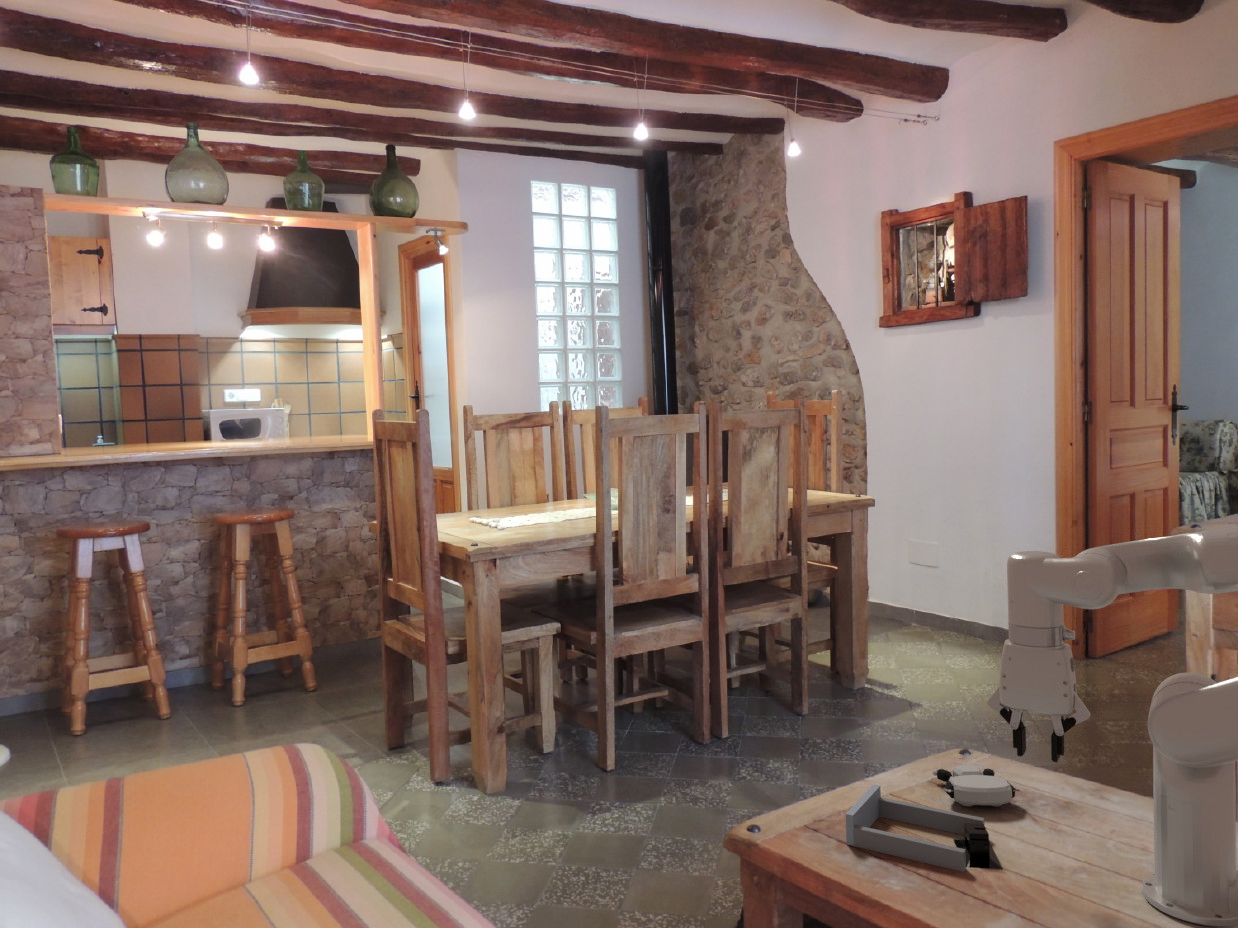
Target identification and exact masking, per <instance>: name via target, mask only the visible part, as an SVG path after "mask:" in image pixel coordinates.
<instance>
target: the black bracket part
mask: <svg viewBox="0 0 1238 928" xmlns="http://www.w3.org/2000/svg"><path fill="white" fill-rule="evenodd" d="M963 836H964V839H957V838H955V839H953V842H954V845H955V847H957V848H962V849H965V850H966V868H970V869H971V868H972V869H987V870H988V869H990V870H1003V866H1002V864H1001V862H1000V861H999V858H998V856H997V854H996V852H995V850H994V848H993V846H992V844H991V842H990V834H989V832H988V829H987V828H986V826H985V823H984V824H970V823H965V828H964V835H963Z"/></svg>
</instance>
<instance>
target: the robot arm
mask: <svg viewBox="0 0 1238 928" xmlns="http://www.w3.org/2000/svg"><path fill="white" fill-rule="evenodd" d="M1006 575H1007V580H1006V581H1007V583H1006V584H1007V612H1008V613H1007V617H1008V618H1007V619H1008V620H1007V621H1008V622H1007V625H1008V639H1006V640H1004V642H1003V648H1002V654H1001V661H1000V671H999V686H998V687H997V689H996V690H995V692H994V693H993V694H992V695H991V696H990V698H989V699H988V701H987V705H988V706H989V708H991V709H993V710H994V711H995V712H996V713H998V714H999V715H1000V716H1001V717H1002V718H1003V719H1004V720H1005V722H1006V723H1008V725H1009V727H1010V728H1011V729H1012V747H1013V748H1014V749H1016V756H1017V757H1023V756H1024V755H1025V753H1026V752H1027V751H1026V750H1027V735H1026V734H1027V732H1026V731H1027V730H1026V729H1027V726H1025V724H1024V721H1023V717H1024V712H1029V713H1036V714H1037V713H1038V714H1044V715H1045V714H1046V715H1050V717H1051V721H1052V725H1053V730H1052V733H1051V736H1050V746H1051V747H1050V748H1051V749H1050V750H1051V755H1050V756H1051V761H1052V762H1053V763H1058V761H1059V759H1060V757H1061V756H1064V755H1065V733H1067V732H1068V731H1069V730H1071V729H1072V728H1073V727H1075V725H1078V724H1080V723H1083V722H1084V721H1087V720H1089V719H1090V717H1091V712H1090V711H1089V709H1088V708H1087V706H1086V705H1085V704H1084V701H1082V699H1081V697H1079V694H1077V693H1078V692H1077V679H1076V670H1075V661H1074V655H1073V651H1072V647H1071V645H1070V644H1068V643H1066V642H1067V641H1069V640H1072V641H1073V640H1076V631H1075V630H1071V629H1070V628H1067V627H1066V624H1065V620H1064V617H1065V616H1064V614H1065V613H1064V605H1065V606H1070V607H1073V608H1080V609H1084V610H1098V609H1103V608H1106V607H1107V606H1109V605H1110V604H1112V603H1113V602H1115V600H1116V598H1117V597H1118V596H1119V595H1123V594H1131V593H1137V592H1138V593H1139V592H1147V591H1154V590H1172V589H1173V590H1175V589H1176V590H1184V591H1185V590H1186V591H1189V592H1190V591H1191V592H1195V593H1199V594H1206V595H1207V594H1209V595H1218V594H1220V595H1221V594H1226V593H1227V594H1228V593H1234V592H1238V525H1232V526H1227V527H1221V528H1220V527H1219V528H1215V529H1208V530H1201V531H1195V532H1187V533H1186V532H1185V533H1179V534H1175V535H1169V536H1160V537H1154V538H1153V537H1152V538H1145V539H1138V540H1132V541H1125V542H1119V543H1113V544H1105V545H1101V546H1095V547H1091V548H1087V549H1085V550H1083V551H1081V552H1079V553H1078V554H1077V555H1075V556H1073V557H1060V556H1059V555H1058V554H1056V553H1054V552H1049V551H1041V550H1040V551H1039V550H1026V551H1025V550H1023V551H1017V552H1014V553H1011V554H1010V555H1009V557H1008V558H1007V563H1006ZM1073 710H1075V711H1076V712H1074V714H1072V713H1073ZM1065 716H1067V717H1066V718H1065ZM1147 731H1148V735H1149V738H1150V740H1151V742H1152V749H1153V750H1152V755H1153V757H1152V764H1153V765H1152V766H1153V767H1152V768H1153V769H1152V770H1153V771H1152V773H1153V775H1152V777H1153V778H1152V779H1153V780H1152V781H1153V787H1152V788H1153V790H1152V791H1153V794H1152V795H1153V841H1154V842H1153V844H1154V845H1153V846H1154V851H1153V853H1154V854H1153V855H1154V856H1153V857H1154V874H1152V875H1151V874H1150V875H1149V876H1147V877H1146V878H1144V879H1143V881H1142V883H1141V884H1142V886H1141V888H1142V889H1141V891H1142V895H1143V897H1144V898H1145V900H1146V901H1147V902H1149V904H1151V905H1152V906H1153V907H1154V908H1156V909H1157V910H1159V911H1161V912H1163V913H1164V914H1167V915H1169V916H1170V917H1173V918H1176V919H1179V920H1181V921H1185V922H1189V923H1192V924H1197V925H1200V926H1201V925H1202V926H1210V927H1233V926H1238V870H1237V835H1236V834H1237V828H1236V826H1237V824H1236V821H1237V820H1236V819H1237V818H1236V817H1237V815H1236V812H1237V811H1236V809H1237V808H1236V807H1237V806H1236V803H1237V802H1236V799H1237V797H1236V795H1237V793H1236V792H1237V790H1236V787H1237V785H1236V784H1237V783H1236V781H1237V780H1236V778H1237V776H1236V762H1238V676H1235V677H1232V678H1229V679H1226V680H1222V681H1218V682H1217V681H1216V680H1214V679H1212V678H1211V677H1208V675H1207V676H1206V675H1204V674H1201V673H1196V672H1179V673H1175V674H1173V675H1171V676H1168V677H1167V678H1165V679H1164V680H1162V681H1161V683H1160V684H1159V685H1158V686H1157V688H1156V689H1155V691H1154V693H1153V695H1152V698H1151V702H1150V706H1149V711H1148V718H1147Z"/></svg>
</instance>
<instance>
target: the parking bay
mask: <svg viewBox="0 0 1238 928" xmlns="http://www.w3.org/2000/svg"><path fill="white" fill-rule="evenodd" d="M881 793H882V792H881V785H877V784H872V786H870V788H869V789H868V790H867V791H866V792H865V793H864V794H863V795H862V796H861V797H860V798H859V799H858V800H857V801H856V803H855V804H853V806H851V808H850V809H849V810H848V811H847V812H846V813H845V834H846V836H845V837H846V841H845V842H846V845H847V846H853V847H856V848H860V849H865V850H869V851H872V852H877V853H881V854H886V855H890V856H894V857H898V858H902V859H905V860H910V861H915V862H920V863H924V864H928V865H932V866H935V867H941V868H944V869H947V870H948V869H949V870H953V871H957V872H961V873H965V871H966V869H967V867H966V850H965V849H962V848H957V847H956V846H953V845H947V844H944V843H938V842H935V841H930V840H925V839H921V838H916V837H912V836H908V835H903V834H900V833H899V834H898V833H893V832H889V831H885V830H881V829H878V828H877V829H875V828H873V827H872V826H873V824H875V822H876V821H877V820H878V819H879V818H883V819H887V820H891V821H898V822H902V823H907V824H909V825H914V826H921V827H924V828H930V829H933V830H939V831H942V832H948V833H952V834H958V835H962V836H965V835H964V828H965V823H970V824H984V825H985V817H980V816H975V815H972V814H971V815H970V814H966V813H960V812H955V811H951V810H946V809H940V808H937V807H932V806H925V805H922V804H917V803H912V802H911V803H910V802H906V801H901V800H896V799H891V798H887V797H881ZM871 827H872V828H871Z"/></svg>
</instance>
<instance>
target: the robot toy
mask: <svg viewBox="0 0 1238 928" xmlns="http://www.w3.org/2000/svg"><path fill="white" fill-rule="evenodd" d="M995 774H996V773H995V771H994V769H991V768H985V769H983V771H982V769H980V767H978V766H977V765H972V764H959V765H957V766H954V767H953V768H952V772H951V771H949V770H947V769H943V768H940V769H935V770H932V775H933V776H936V778H937V779H938V780H939V781H942V782H945V785H944V788H942V789H943V792H944V793H946V794H947V796H949V798H951V799H953V800H954V801H955V802H956V803H958V804H960V805H961V806H963V807H966V808H967V807H969V808H970V807H973V806H990V807H1001V806H1002V805H1006V804H1009V803H1011V802H1012V800H1013V799H1014V798H1015V796H1016V792H1019V793H1023V789H1018V788H1017V787H1014V786H1013V785H1012V784H1011V783H1010V782H1009V781H1008V780H1006V779H1005V778H1004V777H1000V776H996V775H995Z"/></svg>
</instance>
